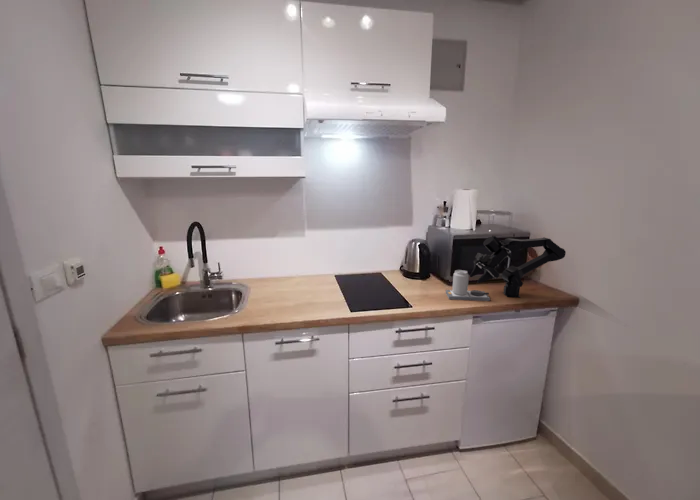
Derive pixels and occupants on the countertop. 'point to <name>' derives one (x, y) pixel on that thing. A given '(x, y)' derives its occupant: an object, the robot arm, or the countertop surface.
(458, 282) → the can
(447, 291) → the grey flat device
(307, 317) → the countertop surface
